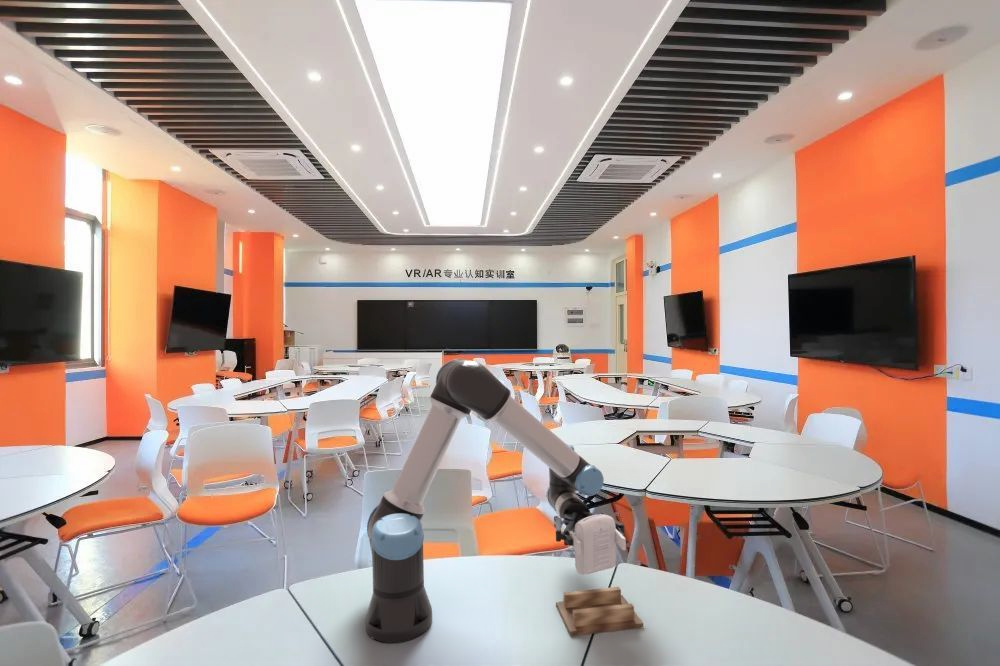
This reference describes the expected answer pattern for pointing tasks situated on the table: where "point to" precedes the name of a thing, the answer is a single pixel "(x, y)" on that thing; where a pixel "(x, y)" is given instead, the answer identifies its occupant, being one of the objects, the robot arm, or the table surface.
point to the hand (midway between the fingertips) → (602, 546)
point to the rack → (597, 611)
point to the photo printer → (596, 544)
